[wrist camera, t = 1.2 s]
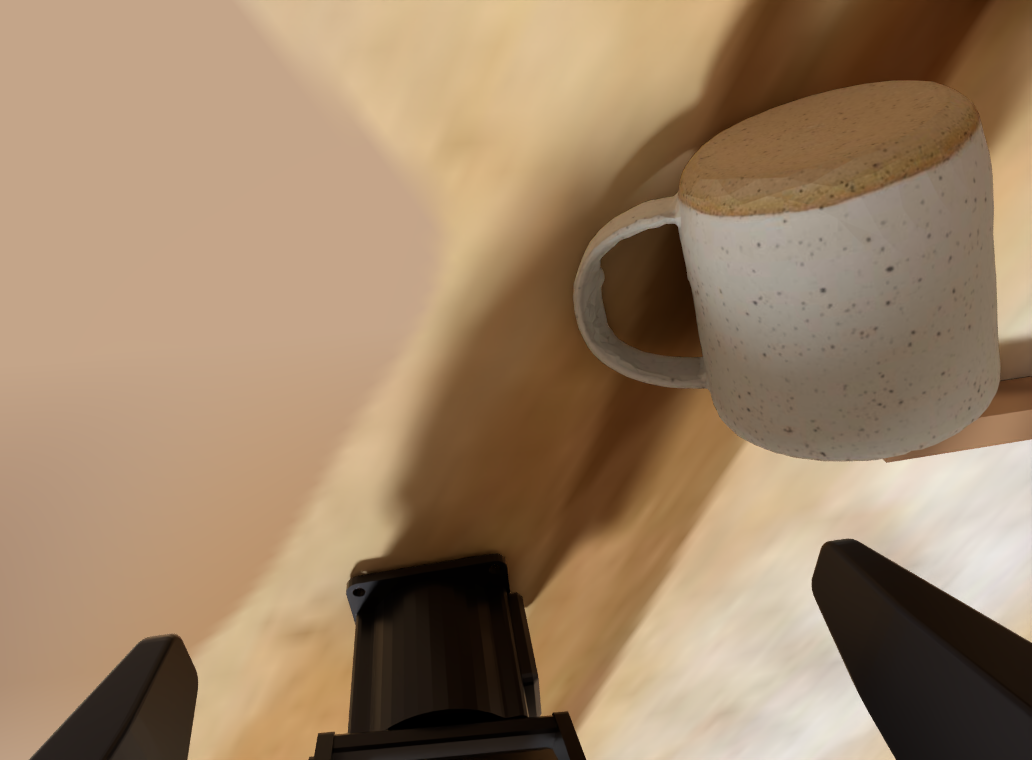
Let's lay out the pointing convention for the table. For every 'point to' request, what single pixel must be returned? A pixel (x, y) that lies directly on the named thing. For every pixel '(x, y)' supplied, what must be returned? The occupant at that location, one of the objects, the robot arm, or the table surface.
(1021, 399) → the walnut corral
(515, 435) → the table surface
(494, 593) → the robot arm
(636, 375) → the ceramic mug
